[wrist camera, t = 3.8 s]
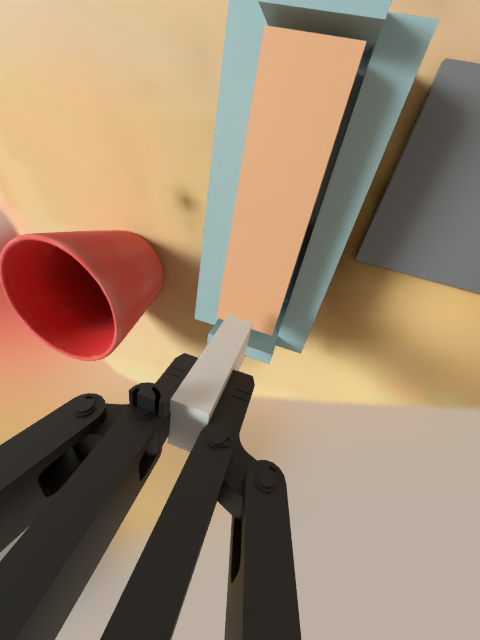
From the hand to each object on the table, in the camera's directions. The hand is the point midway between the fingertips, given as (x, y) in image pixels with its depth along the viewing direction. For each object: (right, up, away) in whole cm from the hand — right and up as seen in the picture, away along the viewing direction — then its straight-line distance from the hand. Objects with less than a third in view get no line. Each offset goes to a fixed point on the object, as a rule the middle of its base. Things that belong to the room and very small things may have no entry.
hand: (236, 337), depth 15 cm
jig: (+4, +10, +6) cm, 12 cm away
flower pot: (-11, +7, +13) cm, 19 cm away
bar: (+3, +8, +2) cm, 9 cm away
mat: (+16, +10, +2) cm, 18 cm away
